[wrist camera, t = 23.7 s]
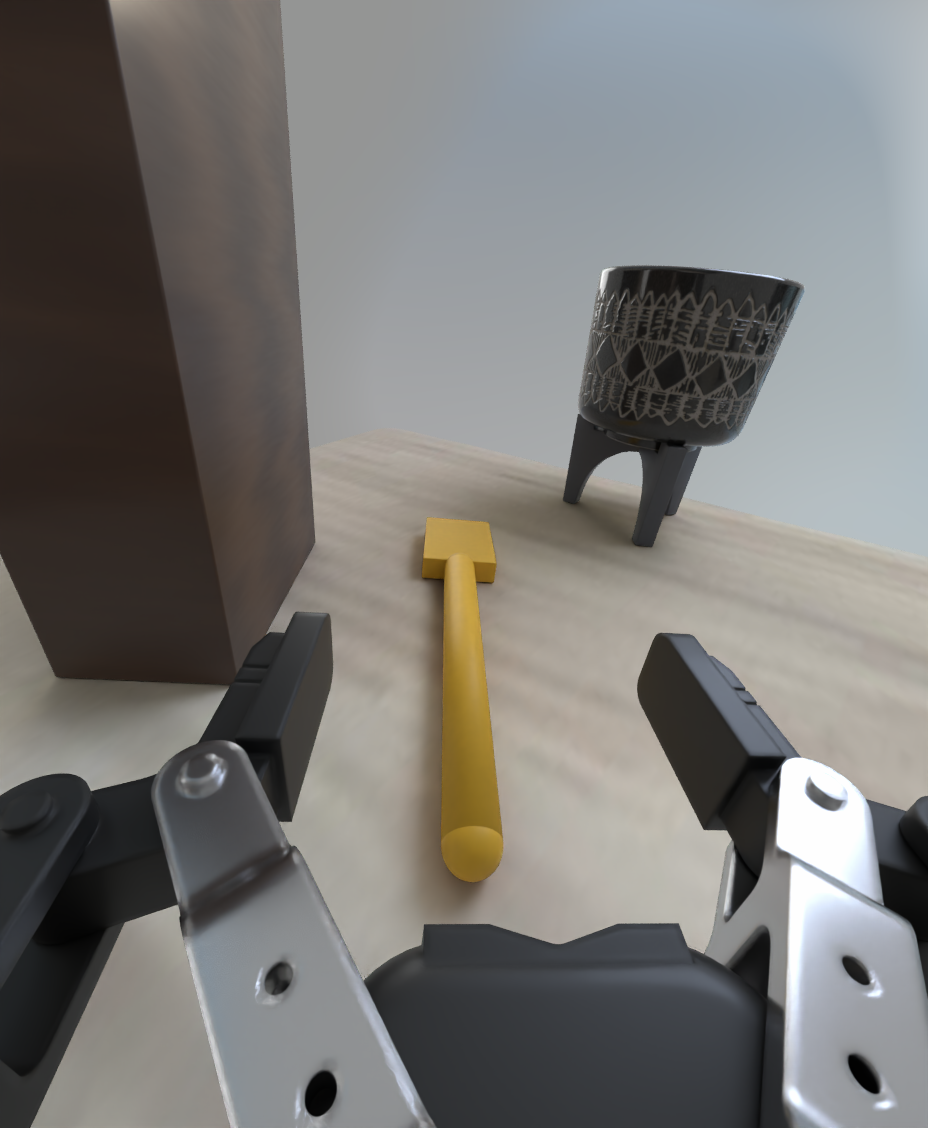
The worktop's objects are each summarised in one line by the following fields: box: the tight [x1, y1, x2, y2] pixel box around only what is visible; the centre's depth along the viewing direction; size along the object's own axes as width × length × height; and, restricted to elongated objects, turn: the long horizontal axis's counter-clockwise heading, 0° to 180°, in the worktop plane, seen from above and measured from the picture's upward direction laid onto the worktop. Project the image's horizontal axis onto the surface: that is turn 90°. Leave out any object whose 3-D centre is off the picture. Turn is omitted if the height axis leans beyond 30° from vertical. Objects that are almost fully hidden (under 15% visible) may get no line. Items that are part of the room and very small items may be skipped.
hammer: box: [422, 517, 503, 882], centre depth 22 cm, size 23×4×2 cm, turn 2°
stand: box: [0, 0, 315, 685], centre depth 17 cm, size 14×9×30 cm, turn 2°
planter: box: [563, 265, 805, 547], centre depth 35 cm, size 13×13×18 cm
